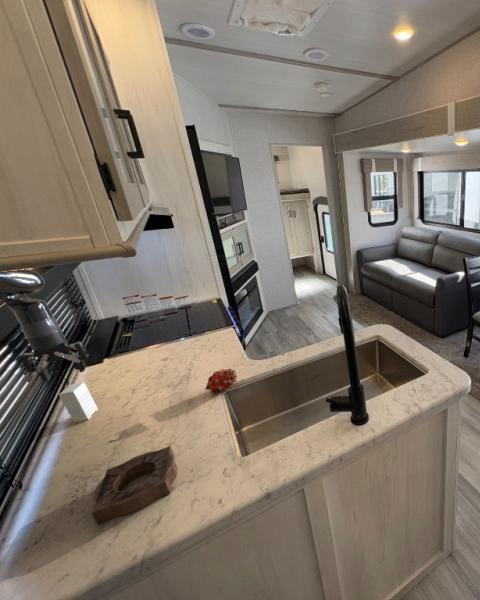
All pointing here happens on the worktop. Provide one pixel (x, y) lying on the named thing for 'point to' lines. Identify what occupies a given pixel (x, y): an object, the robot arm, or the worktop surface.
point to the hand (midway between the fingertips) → (65, 375)
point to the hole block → (124, 503)
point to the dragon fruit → (221, 380)
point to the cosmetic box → (78, 402)
